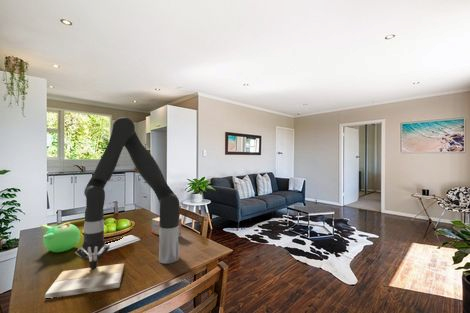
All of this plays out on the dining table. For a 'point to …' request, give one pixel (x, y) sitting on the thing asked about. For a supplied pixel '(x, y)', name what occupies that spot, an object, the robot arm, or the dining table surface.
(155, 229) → the stack of blocks
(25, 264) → the dining table surface
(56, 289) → the whitewashed oak board
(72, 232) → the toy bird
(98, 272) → the honey oak plank
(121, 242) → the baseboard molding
